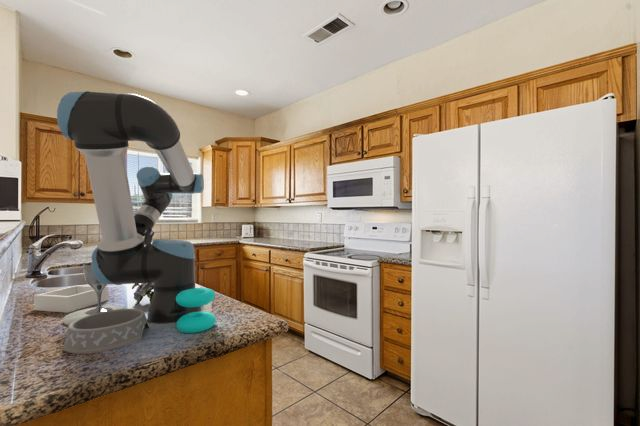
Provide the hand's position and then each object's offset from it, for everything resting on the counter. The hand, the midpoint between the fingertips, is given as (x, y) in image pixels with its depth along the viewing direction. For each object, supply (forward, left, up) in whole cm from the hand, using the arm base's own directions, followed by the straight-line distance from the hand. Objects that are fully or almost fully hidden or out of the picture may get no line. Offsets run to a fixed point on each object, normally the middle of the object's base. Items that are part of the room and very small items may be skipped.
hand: (109, 268), depth 102 cm
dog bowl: (-19, +18, -14) cm, 30 cm away
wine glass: (0, +4, -13) cm, 13 cm away
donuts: (-37, +8, -14) cm, 41 cm away
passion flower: (-7, -10, -14) cm, 19 cm away
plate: (0, +6, -14) cm, 15 cm away
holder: (+20, -3, -14) cm, 24 cm away
